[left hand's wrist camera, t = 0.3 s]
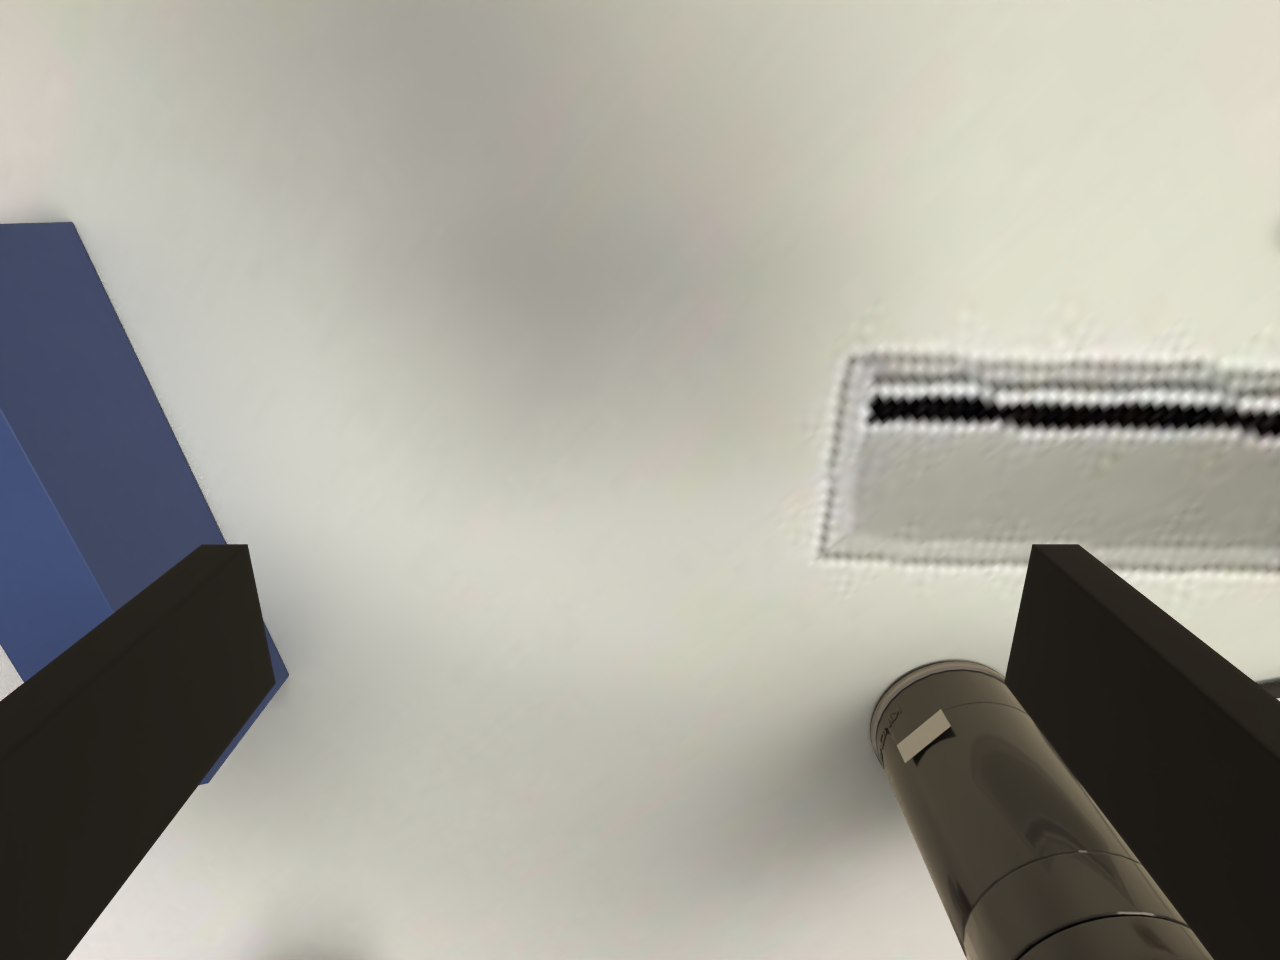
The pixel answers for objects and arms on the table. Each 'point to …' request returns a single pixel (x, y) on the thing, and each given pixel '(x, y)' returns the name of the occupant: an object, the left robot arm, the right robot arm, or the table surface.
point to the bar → (82, 459)
